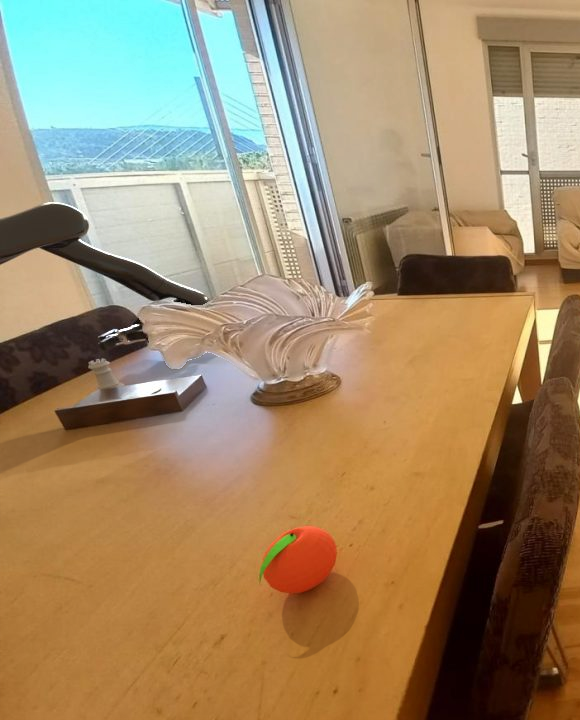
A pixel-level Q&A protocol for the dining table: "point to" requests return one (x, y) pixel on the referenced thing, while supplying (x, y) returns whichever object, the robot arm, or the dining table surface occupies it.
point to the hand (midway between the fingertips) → (126, 343)
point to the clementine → (299, 560)
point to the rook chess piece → (104, 374)
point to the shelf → (132, 402)
